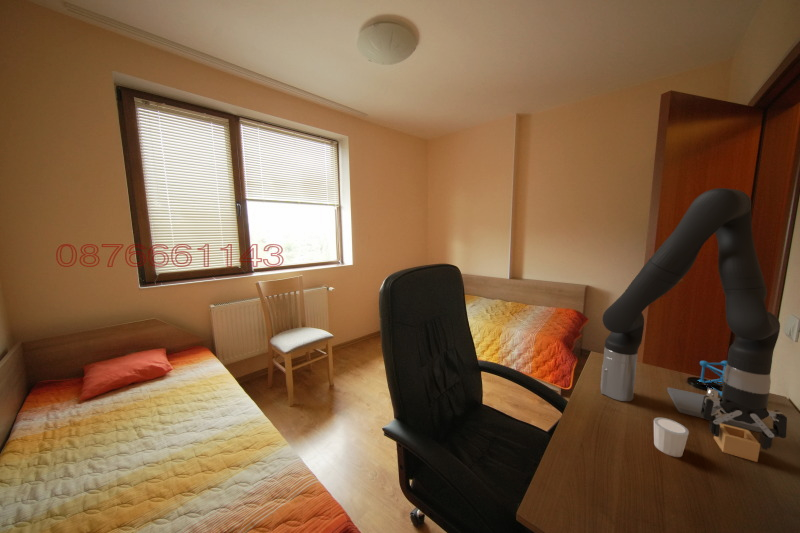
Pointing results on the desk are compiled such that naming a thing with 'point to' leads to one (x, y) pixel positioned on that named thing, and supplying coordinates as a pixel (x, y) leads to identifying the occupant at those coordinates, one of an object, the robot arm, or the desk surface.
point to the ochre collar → (738, 442)
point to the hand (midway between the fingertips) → (738, 440)
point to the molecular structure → (706, 364)
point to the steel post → (712, 394)
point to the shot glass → (670, 436)
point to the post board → (693, 404)
